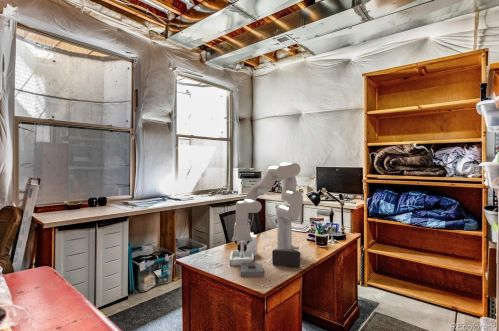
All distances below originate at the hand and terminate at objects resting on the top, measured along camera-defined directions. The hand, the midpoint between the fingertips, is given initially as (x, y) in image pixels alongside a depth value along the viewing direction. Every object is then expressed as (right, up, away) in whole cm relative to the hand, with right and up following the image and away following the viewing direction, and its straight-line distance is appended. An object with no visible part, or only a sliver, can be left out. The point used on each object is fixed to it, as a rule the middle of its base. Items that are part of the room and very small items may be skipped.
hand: (242, 251), depth 171 cm
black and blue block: (+26, -7, -8) cm, 28 cm away
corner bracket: (+4, -6, +16) cm, 18 cm away
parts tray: (0, -6, 0) cm, 6 cm away
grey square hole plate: (+6, -7, -17) cm, 19 cm away
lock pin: (0, -4, 0) cm, 4 cm away
